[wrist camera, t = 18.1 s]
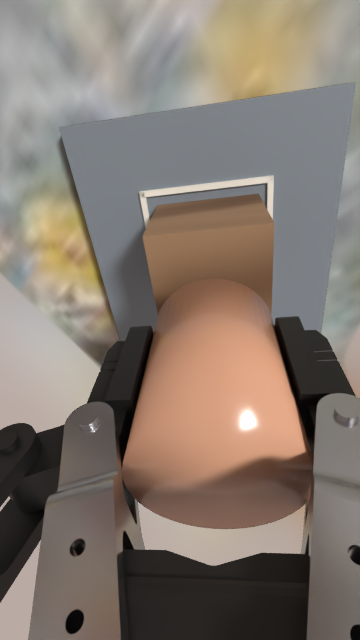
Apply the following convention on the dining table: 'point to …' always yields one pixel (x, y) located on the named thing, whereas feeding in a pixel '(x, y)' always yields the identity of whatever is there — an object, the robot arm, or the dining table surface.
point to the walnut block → (211, 245)
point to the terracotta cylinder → (217, 415)
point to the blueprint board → (217, 187)
